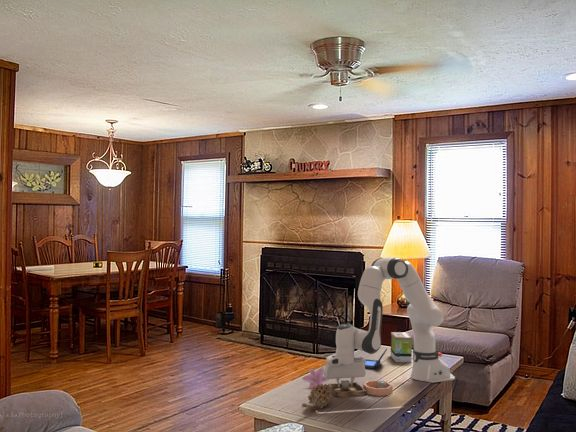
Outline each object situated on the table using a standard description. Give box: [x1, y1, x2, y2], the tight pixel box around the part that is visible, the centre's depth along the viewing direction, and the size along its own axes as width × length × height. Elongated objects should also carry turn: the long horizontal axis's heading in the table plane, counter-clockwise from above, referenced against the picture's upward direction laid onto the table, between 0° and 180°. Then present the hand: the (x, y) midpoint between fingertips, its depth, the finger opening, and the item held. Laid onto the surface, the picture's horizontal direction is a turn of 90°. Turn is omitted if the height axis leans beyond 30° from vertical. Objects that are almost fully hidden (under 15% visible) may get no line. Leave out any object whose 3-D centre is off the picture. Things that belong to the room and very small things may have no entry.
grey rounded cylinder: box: [378, 380, 387, 388], centre depth 252 cm, size 4×4×4 cm
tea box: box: [390, 331, 413, 363], centre depth 313 cm, size 15×10×15 cm
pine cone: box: [301, 383, 333, 410], centre depth 228 cm, size 22×10×10 cm, turn 153°
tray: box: [327, 381, 367, 398], centre depth 250 cm, size 15×14×3 cm
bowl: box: [362, 379, 394, 397], centre depth 251 cm, size 13×13×4 cm
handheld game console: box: [364, 347, 388, 371], centre depth 298 cm, size 16×13×9 cm
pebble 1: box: [340, 379, 350, 390], centre depth 253 cm, size 4×4×4 cm
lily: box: [301, 366, 330, 389], centre depth 258 cm, size 12×12×10 cm
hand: (344, 386), depth 253 cm, fingers closed on pebble 1, 4 cm apart
